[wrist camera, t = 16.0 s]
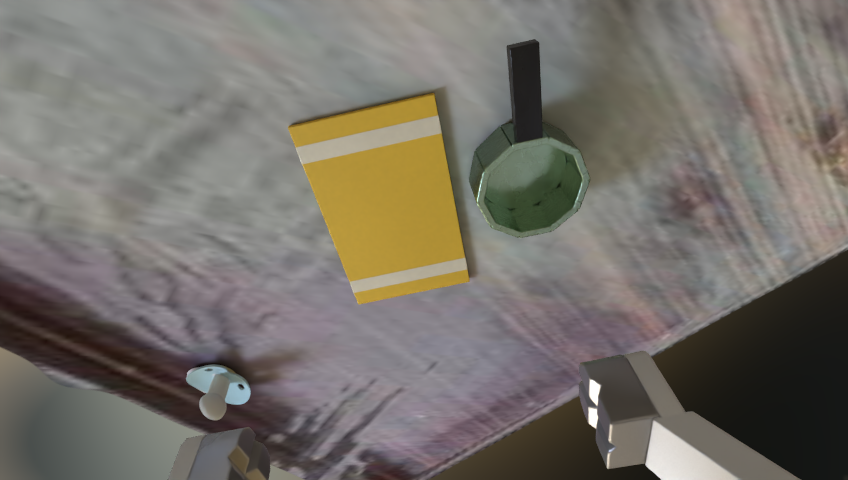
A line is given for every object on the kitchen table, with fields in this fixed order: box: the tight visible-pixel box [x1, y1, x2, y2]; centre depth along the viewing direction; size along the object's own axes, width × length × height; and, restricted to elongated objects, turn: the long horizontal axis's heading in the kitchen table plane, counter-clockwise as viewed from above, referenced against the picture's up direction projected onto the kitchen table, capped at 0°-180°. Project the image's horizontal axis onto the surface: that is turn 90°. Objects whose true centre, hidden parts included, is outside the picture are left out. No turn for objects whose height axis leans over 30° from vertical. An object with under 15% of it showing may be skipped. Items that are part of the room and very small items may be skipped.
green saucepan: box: [469, 39, 590, 238], centre depth 36 cm, size 16×9×4 cm, turn 11°
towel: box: [288, 93, 470, 304], centre depth 42 cm, size 20×12×1 cm, turn 11°
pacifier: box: [186, 364, 251, 420], centre depth 50 cm, size 7×6×6 cm
